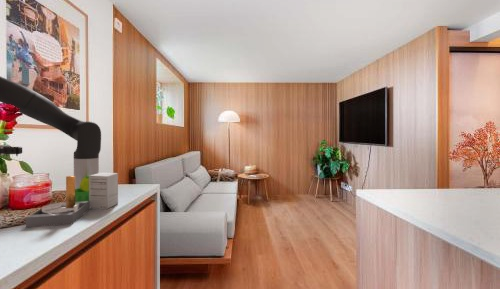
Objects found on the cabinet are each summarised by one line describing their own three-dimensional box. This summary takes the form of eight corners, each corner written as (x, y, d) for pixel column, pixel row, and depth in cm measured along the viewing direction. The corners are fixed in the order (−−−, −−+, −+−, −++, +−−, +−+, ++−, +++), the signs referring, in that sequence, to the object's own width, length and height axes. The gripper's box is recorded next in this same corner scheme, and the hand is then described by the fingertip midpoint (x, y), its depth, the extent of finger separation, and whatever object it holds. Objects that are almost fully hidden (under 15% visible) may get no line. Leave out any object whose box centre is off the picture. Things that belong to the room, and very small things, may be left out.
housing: (51, 211, 88) (51, 197, 88) (89, 208, 92) (89, 195, 92) (25, 227, 73) (25, 210, 73) (72, 224, 76) (72, 208, 76)
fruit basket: (103, 197, 108) (103, 172, 107) (103, 202, 100) (103, 175, 100) (71, 201, 102) (71, 174, 101) (69, 206, 94) (69, 177, 94)
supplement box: (100, 203, 100) (100, 172, 99) (118, 203, 99) (118, 172, 99) (88, 208, 92) (88, 175, 92) (107, 209, 92) (107, 175, 92)
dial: (33, 214, 79) (33, 177, 78) (64, 206, 88) (64, 172, 88) (58, 218, 76) (58, 179, 76) (87, 209, 86) (87, 174, 85)
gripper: (-75, 139, 65) (6, 139, 70) (-35, 137, 78) (32, 137, 83) (-73, 167, 65) (7, 165, 71) (-34, 161, 78) (33, 159, 83)
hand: (20, 150), depth 77 cm, fingers closed
